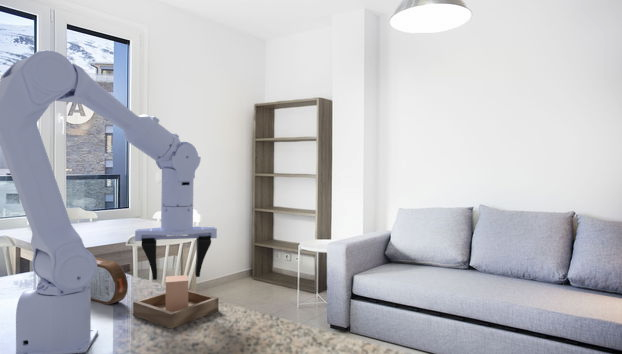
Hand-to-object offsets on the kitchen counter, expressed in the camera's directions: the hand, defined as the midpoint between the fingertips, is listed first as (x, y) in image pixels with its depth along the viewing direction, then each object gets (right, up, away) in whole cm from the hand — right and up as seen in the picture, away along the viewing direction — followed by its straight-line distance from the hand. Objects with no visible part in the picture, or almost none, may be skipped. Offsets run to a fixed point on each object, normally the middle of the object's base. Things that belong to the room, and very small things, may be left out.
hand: (176, 277), depth 80 cm
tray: (0, -7, 0) cm, 7 cm away
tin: (-18, -7, +7) cm, 21 cm away
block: (0, -6, 0) cm, 6 cm away
